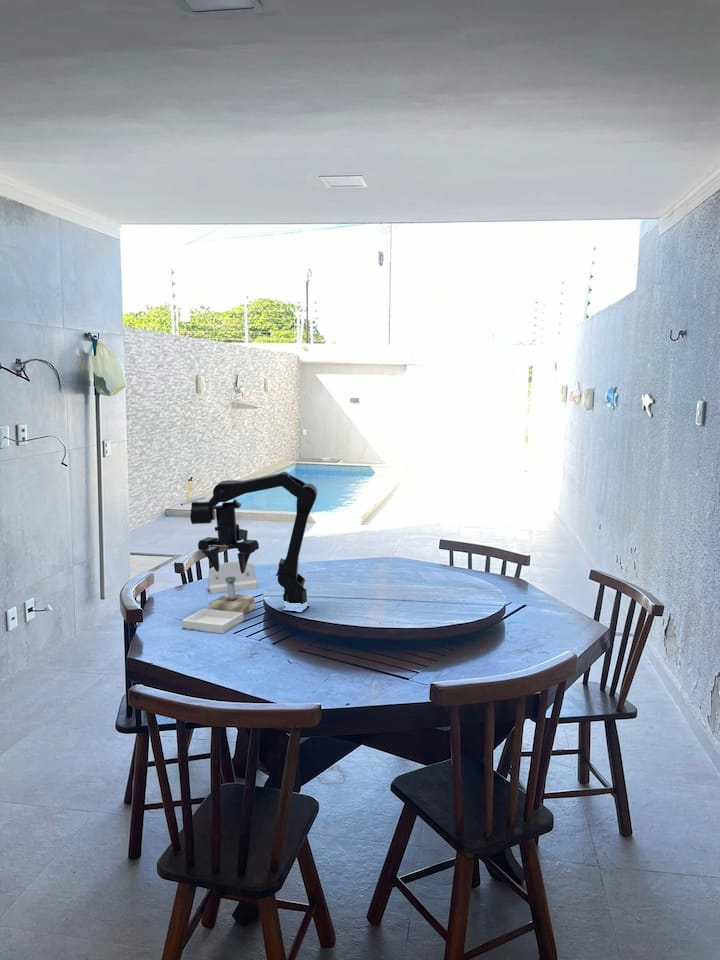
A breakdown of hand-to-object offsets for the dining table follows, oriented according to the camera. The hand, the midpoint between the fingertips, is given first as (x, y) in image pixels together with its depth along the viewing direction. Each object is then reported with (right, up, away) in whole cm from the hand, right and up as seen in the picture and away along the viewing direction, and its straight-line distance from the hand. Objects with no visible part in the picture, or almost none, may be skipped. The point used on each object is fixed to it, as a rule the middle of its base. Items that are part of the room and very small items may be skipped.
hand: (230, 572), depth 236 cm
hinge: (-4, -9, +27) cm, 29 cm away
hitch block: (+1, -12, +2) cm, 13 cm away
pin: (+1, -12, +2) cm, 13 cm away
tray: (-3, -14, -10) cm, 18 cm away
